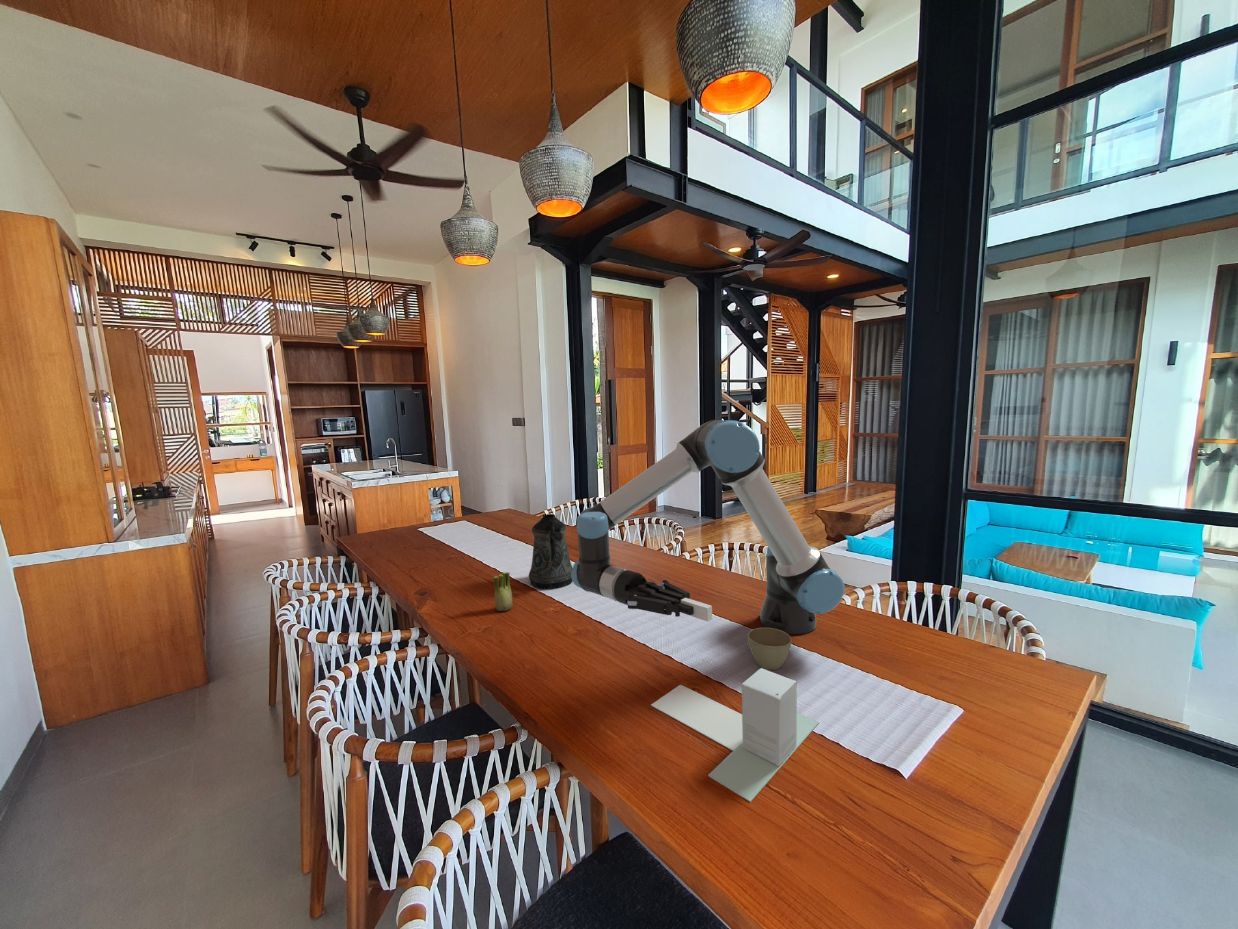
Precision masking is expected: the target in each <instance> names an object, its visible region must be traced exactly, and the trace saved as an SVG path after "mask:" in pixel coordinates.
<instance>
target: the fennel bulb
mask: <svg viewBox="0 0 1238 929" xmlns="http://www.w3.org/2000/svg"><path fill="white" fill-rule="evenodd" d="M510 573H511V572H510V571H507V572H502V573H501V574H499V575H498V576H496V575H495V576H494V577H493V582H494V583H493V584H494V606H495V609H496V610H497V611H498V612H507V611H511V609H512V608H513V592H512V589H511V583H510V582H511V581H510V575H511V574H510Z"/></svg>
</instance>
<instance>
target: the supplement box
mask: <svg viewBox="0 0 1238 929" xmlns="http://www.w3.org/2000/svg"><path fill="white" fill-rule="evenodd" d="M797 686H798V685H797V681H796V680H794V679H791V678H788V677H785V676H783V675H780V674H778V673H775V672H773V671H771V670H767V669H764V668H762V667H760V668H759V669H758V670H756V671H755V672H754V673H752V675H751V676H750V677H748V678H747V679H745V680H744V681H743V682H742V683H741V714H742V734H743V748H744V749H746V750H748V751H750V752H752V753H754V754H756V755H758V756H760V757H762V758H763V759H765V760H767V761H769V762H771V763H773V764H775V765H777V766H780V765H781V764H782V762H783V761H784V760H785V759H786V758H787V756H788V755H789V754H790V753H791V752H792V751H793V749H794V748H795V747H796V745H797V713H798V711H797V708H798V707H797V705H798V704H797V695H798V694H797V693H798V692H797Z"/></svg>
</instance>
